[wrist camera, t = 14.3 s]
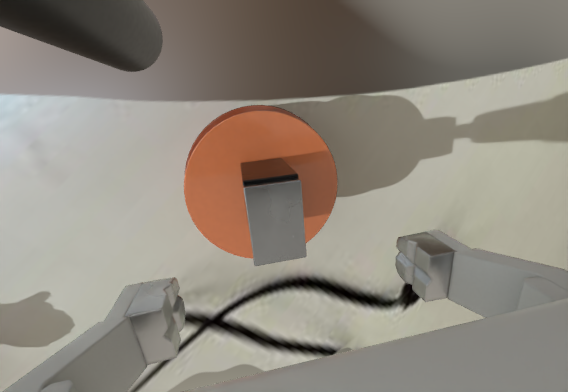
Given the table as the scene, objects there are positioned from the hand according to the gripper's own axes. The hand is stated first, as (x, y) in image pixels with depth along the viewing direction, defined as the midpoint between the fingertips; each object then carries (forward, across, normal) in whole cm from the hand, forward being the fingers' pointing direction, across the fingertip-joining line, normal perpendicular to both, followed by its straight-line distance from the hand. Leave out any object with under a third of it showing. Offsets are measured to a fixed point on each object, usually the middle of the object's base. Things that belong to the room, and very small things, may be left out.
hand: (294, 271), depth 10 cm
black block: (+10, 0, 0) cm, 11 cm away
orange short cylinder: (+22, 0, 0) cm, 22 cm away
